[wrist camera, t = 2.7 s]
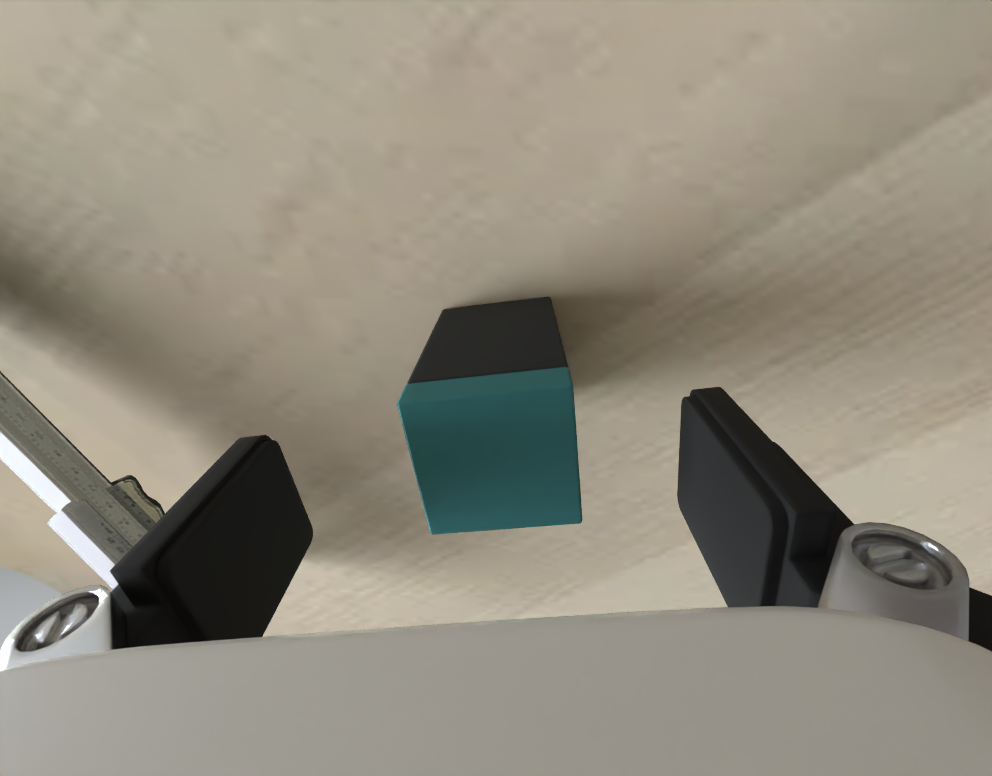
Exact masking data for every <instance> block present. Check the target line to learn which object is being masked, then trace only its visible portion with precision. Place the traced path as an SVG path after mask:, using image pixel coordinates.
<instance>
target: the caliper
mask: <svg viewBox="0 0 992 776" xmlns="http://www.w3.org/2000/svg"><path fill="white" fill-rule="evenodd" d="M0 459H1V460H2V461H3V462H4V463H5V464H6V465H7V466H8V467H9V468H10V469H11V470H12V471H14V472H15V473H16V474H17V475H18V476H19V477H20V478H21V479H22V480H23V481H24V482H25V483H26V484H27V485H28V486H29V487H30V488H31V489H32V490H33V491H34V492H35V493H36V494H37V495H38V496H39V497H40V498H41V499H42V500H43V501H44V502H45V503H46V504H47V505H49V506H50V507H51V508H52V509H53V510H54V511H55V512H56V513H57V514H56V515H55V516H54V517H53V518H52V519H51V520H50V521H49V522H48V523H47V524H48V525H49V526H50V527H51V528H52V529H53V530H54V531H55V532H56V533H57V534H58V535H59V536H60V537H61V538H62V539H63V540H64V541H65V542H66V543H67V544H68V545H69V546H70V547H71V548H72V549H73V550H74V551H75V552H76V553H77V554H78V555H79V556H80V557H81V558H82V559H83V560H84V561H85V562H86V563H87V564H88V565H89V566H90V567H91V568H92V569H93V570H94V571H95V572H96V573H97V574H98V575H99V576H100V577H101V578H102V579H103V580H104V581H105V582H106V583H107V584H108V585H109V586H110V587H111V588H112V589H114V588H115V587H116V586H117V585H118V583H117V581H116V580H115V578H114V577H113V575H112V574H111V573H110V570H111V569H112V568H113V567H114V566H115V565H116V564H117V563H118V562H119V561H120V560H121V559H122V558H123V556H124V555H125V554H126V553H127V552H128V551H129V550H130V549H131V548H132V547H133V546H134V545H135V544H136V543H137V542H138V541H139V540H140V539H141V538H142V537H143V536H144V535H145V534H146V533H147V532H148V531H149V530H150V529H151V528H152V527H153V526H154V525H155V524H156V523H157V522H158V521H159V520H160V519H161V518H162V517H163V516H164V515H165V513H164V511H163V509H162V507H161V505H160V504H159V503H158V502H157V501H156V500H154V499H152V498H151V497H149V496H147V494H146V493H145V492H144V491H143V489H142V487H141V485H140V484H139V482H138V480H137V479H136V478H135V477H133V476H132V475H127V476H125V477H123V478H121V479H118V480H116V481H114V482H110V481H109V480H108V479H107V478H106V477H105V476H104V475H103V474H102V473H101V472H100V471H99V470H98V469H97V468H96V467H95V466H94V465H93V464H92V463H91V462H90V461H89V460H88V459H87V458H86V457H85V456H84V455H83V454H82V453H81V452H80V451H79V450H78V449H77V448H76V447H75V446H74V445H73V444H72V443H71V442H70V441H69V440H68V439H67V438H66V437H65V436H64V435H63V434H62V433H61V432H60V431H59V430H58V429H57V428H56V427H55V426H54V425H53V424H52V423H51V422H50V421H49V420H48V419H47V418H46V417H45V416H44V415H43V414H42V413H41V412H40V411H39V410H38V409H37V408H36V407H35V406H34V405H33V404H32V403H31V402H30V401H29V400H28V399H27V398H26V397H25V396H24V395H23V394H22V393H21V392H20V391H19V390H18V389H17V388H16V387H15V386H14V385H13V384H12V383H11V382H10V381H9V380H8V379H7V378H6V377H5V376H4V375H3V374H2V373H1V371H0Z"/></svg>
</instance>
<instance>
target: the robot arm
mask: <svg viewBox="0 0 992 776" xmlns="http://www.w3.org/2000/svg"><path fill="white" fill-rule="evenodd" d="M677 495H678V503H679V507H680V510H681V512H682V514H683V516H684V518H685V520H686V522H687V524H688V527H689V529H690V531H691V533H692V535H693V537H694V539H695V541H696V543H697V545H698V547H699V549H700V551H701V553H702V555H703V557H704V559H705V561H706V563H707V565H708V567H709V569H710V571H711V573H712V575H713V577H714V579H715V581H716V583H717V585H718V588H719V590H720V592H721V594H722V596H723V598H724V600H725V602H726V604H727V606H728V607H721V608H695V609H679V610H661V611H640V612H623V613H607V614H591V615H575V616H559V617H543V618H528V619H512V620H496V621H481V622H466V623H451V624H437V625H422V626H407V627H393V628H378V629H364V630H350V631H335V632H322V633H308V634H295V635H282V636H268V637H262V636H263V634H264V632H265V630H266V628H267V626H268V624H269V622H270V621H271V619H272V617H273V615H274V613H275V611H276V609H277V607H278V605H279V603H280V601H281V599H282V597H283V596H284V594H285V592H286V590H287V588H288V586H289V584H290V582H291V580H292V578H293V576H294V574H295V572H296V571H297V569H298V567H299V565H300V563H301V561H302V559H303V557H304V555H305V553H306V551H307V549H308V547H309V546H310V544H311V541H312V537H313V529H312V525H311V523H310V520H309V518H308V515H307V513H306V510H305V508H304V505H303V503H302V500H301V498H300V495H299V493H298V490H297V488H296V485H295V483H294V480H293V478H292V475H291V473H290V470H289V468H288V465H287V463H286V460H285V458H284V455H283V453H282V450H281V448H280V446H279V444H278V442H277V441H275V440H272V439H271V438H270V437H269V436H267V435H261V436H251V437H242V438H239V439H238V440H237V441H236V442H235V443H234V444H233V445H232V446H231V447H230V448H229V449H228V450H227V451H226V452H225V453H224V454H223V455H222V456H221V457H220V458H219V459H218V460H217V461H216V462H215V463H214V464H213V465H212V466H211V467H210V468H209V469H208V470H207V472H206V473H205V474H204V475H203V476H202V477H201V478H200V479H199V480H198V481H197V482H196V483H195V484H194V485H193V486H192V487H191V488H190V489H189V490H188V491H187V492H186V493H185V494H184V495H183V496H182V497H181V498H180V499H179V500H178V501H177V502H176V503H175V504H174V505H173V506H172V507H171V508H170V509H169V510H168V511H167V512H166V513H165V515H164V516H163V517H162V518H161V519H160V520H159V521H158V522H157V523H156V524H155V525H154V526H153V527H152V528H151V529H150V530H149V531H148V532H147V533H146V534H145V535H144V536H143V537H142V538H141V539H140V540H139V541H138V542H137V543H136V544H135V545H134V546H133V547H132V548H131V549H130V550H129V551H128V552H127V553H126V554H125V555H124V556H123V558H122V559H121V560H120V561H119V562H118V563H117V564H116V565H115V566H114V567H113V568H112V569H111V570H110V573H111V574H112V575H113V577H114V578H115V580H116V581H117V583H118V585H117V586H116V587H115V588H114V589H113V590H112V592H110V591H109V589H108V588H106V587H104V586H102V585H89V586H85V587H81V588H77V589H74V590H72V591H69V592H67V593H64V594H62V595H60V596H58V597H56V598H54V599H53V600H51V601H49V602H47V603H46V604H44V605H42V606H41V607H40V608H38V609H37V610H36V611H34V612H32V613H31V614H30V615H28V616H27V617H26V618H25V619H24V620H23V621H22V622H21V623H19V624H18V625H17V626H16V627H15V629H14V630H13V631H12V632H11V633H10V634H9V636H8V637H7V638H6V641H5V643H4V645H3V647H2V649H1V653H0V776H992V596H990V595H988V594H985V593H983V592H980V591H977V590H975V589H972V588H970V587H969V578H968V574H967V571H966V568H965V567H964V566H963V564H962V563H961V562H960V560H959V559H958V558H957V557H956V556H955V555H954V554H953V553H951V552H950V551H949V550H948V549H946V548H945V547H944V546H943V545H941V544H940V543H938V542H936V541H934V540H932V539H930V538H929V537H927V536H925V535H923V534H920V533H918V532H915V531H912V530H910V529H907V528H904V527H900V526H895V525H891V524H886V523H872V522H868V523H861V524H853V523H852V522H851V520H850V519H849V518H848V517H847V516H846V515H845V514H844V513H843V512H842V511H841V510H840V509H839V508H838V507H837V506H836V505H835V504H834V503H833V502H832V501H831V499H830V498H829V497H828V496H827V495H826V494H825V493H824V492H823V491H822V490H821V489H820V488H819V487H818V486H817V485H816V484H815V483H814V482H813V481H812V479H811V478H810V477H809V476H808V475H807V474H806V473H805V472H804V471H803V470H802V469H801V468H800V467H799V466H798V465H797V464H796V463H795V462H794V461H793V460H792V458H791V457H790V456H789V455H788V454H787V453H786V452H785V451H784V450H783V449H782V448H781V447H780V446H779V445H778V444H776V443H775V442H772V441H771V440H770V439H769V438H768V437H767V435H766V434H765V433H764V432H763V431H762V430H761V429H760V428H759V427H758V426H757V425H756V424H755V423H754V422H753V421H752V419H751V418H750V417H749V416H748V415H747V414H746V413H745V412H744V411H743V410H742V409H741V408H740V407H739V406H738V405H737V404H736V402H735V401H734V400H733V399H732V398H731V397H730V396H729V395H728V394H727V393H726V392H725V391H724V390H723V389H722V388H721V387H714V388H705V389H695V390H692V391H691V393H690V397H684V398H683V399H682V405H681V426H680V448H679V470H678V492H677Z"/></svg>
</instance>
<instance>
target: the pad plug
mask: <svg viewBox="0 0 992 776" xmlns="http://www.w3.org/2000/svg"><path fill="white" fill-rule="evenodd" d="M397 406H398V410H399V413H400V417H401V421H402V425H403V429H404V433H405V437H406V440H407V444H408V448H409V452H410V456H411V460H412V464H413V468H414V471H415V475H416V479H417V483H418V487H419V491H420V495H421V499H422V502H423V506H424V510H425V514H426V518H427V522H428V526H429V530H430V533H431V534H446V533H459V532H473V531H486V530H499V529H512V528H526V527H539V526H552V525H565V524H579V523H581V522H582V508H581V493H580V478H579V464H578V449H577V435H576V420H575V405H574V391H573V384H572V380H571V376H570V372H569V369H568V364H567V360H566V357H565V353H564V349H563V345H562V341H561V337H560V333H559V329H558V325H557V321H556V317H555V313H554V309H553V305H552V301H551V298H550V297H543V298H535V299H526V300H518V301H510V302H502V303H493V304H485V305H477V306H469V307H461V308H452V309H444V310H443V311H442V313H441V315H440V317H439V319H438V321H437V323H436V325H435V327H434V329H433V331H432V333H431V335H430V337H429V339H428V341H427V344H426V346H425V348H424V350H423V352H422V354H421V356H420V358H419V360H418V362H417V364H416V366H415V368H414V370H413V372H412V374H411V376H410V378H409V381H408V383H407V385H406V386H405V388H404V390H403V392H402V394H401V396H400V398H399V400H398V403H397Z"/></svg>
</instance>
